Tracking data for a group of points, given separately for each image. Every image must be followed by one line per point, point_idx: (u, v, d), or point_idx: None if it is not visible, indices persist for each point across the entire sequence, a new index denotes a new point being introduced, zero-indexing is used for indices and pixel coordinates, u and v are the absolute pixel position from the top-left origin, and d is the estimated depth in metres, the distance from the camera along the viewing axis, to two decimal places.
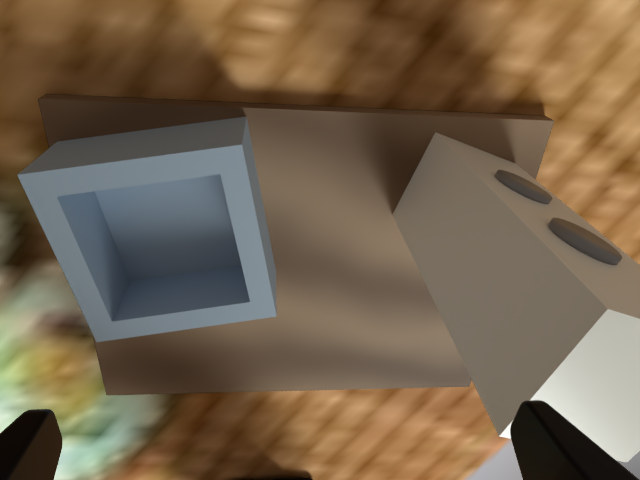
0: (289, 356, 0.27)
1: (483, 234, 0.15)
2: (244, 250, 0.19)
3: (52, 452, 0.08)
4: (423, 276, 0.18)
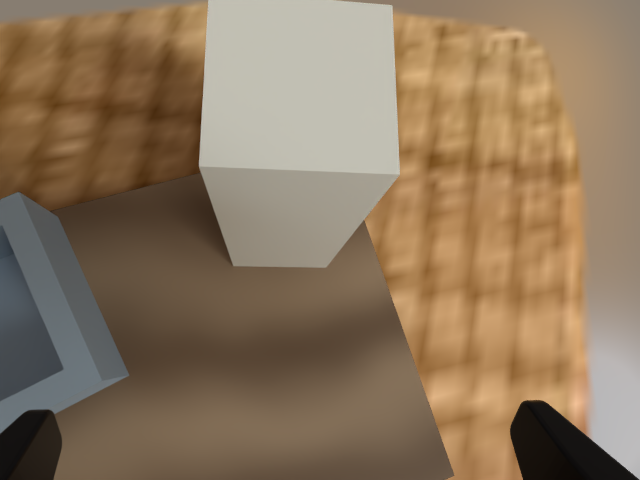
0: None
1: None
2: (43, 301, 0.17)
3: (52, 452, 0.08)
4: (225, 241, 0.17)
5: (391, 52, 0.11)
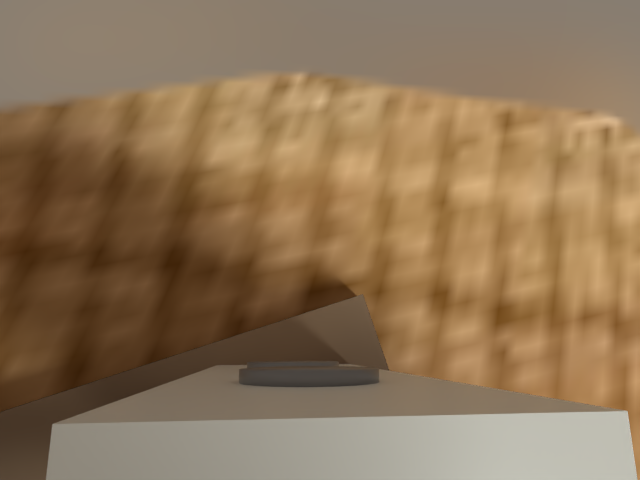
0: None
1: None
2: None
3: None
4: None
5: None
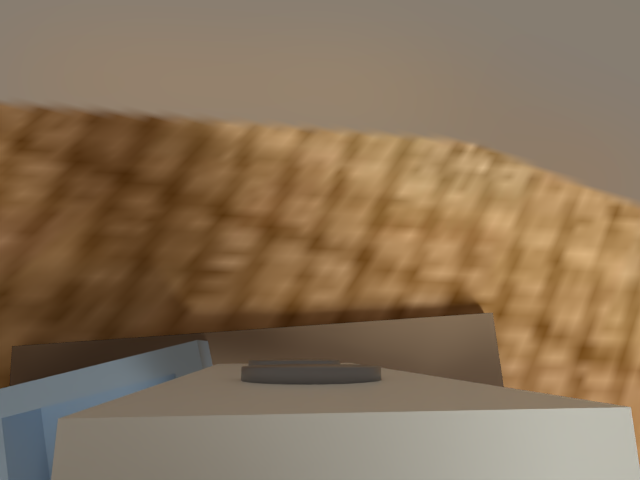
0: None
1: None
2: None
3: None
4: None
5: None
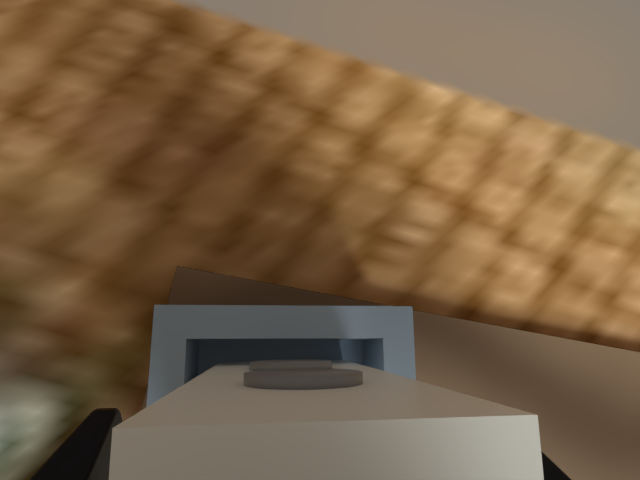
0: None
1: None
2: None
3: None
4: None
5: None
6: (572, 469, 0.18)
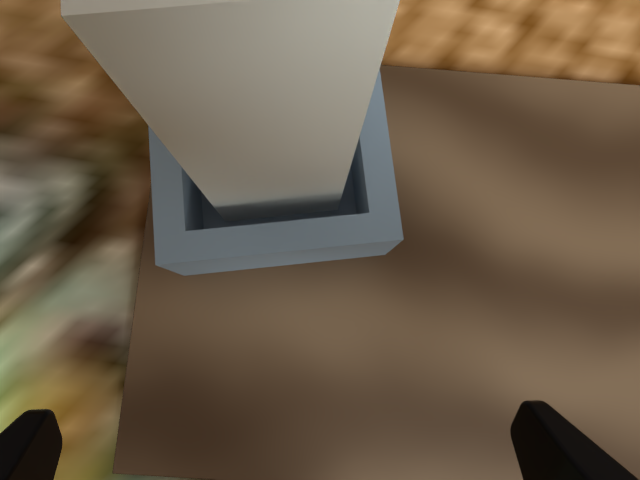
0: (401, 410, 0.18)
1: None
2: (367, 136, 0.16)
3: (52, 452, 0.08)
4: (194, 182, 0.13)
5: None
6: (548, 187, 0.20)
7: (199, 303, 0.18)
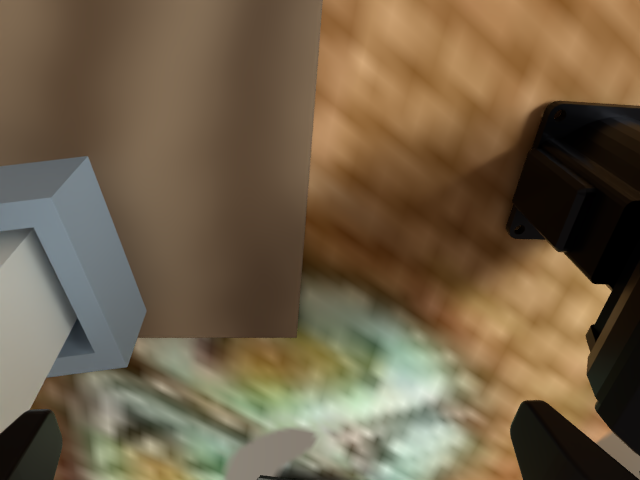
0: (240, 141, 0.19)
1: None
2: None
3: (52, 452, 0.08)
4: (41, 385, 0.17)
5: None
6: None
7: (167, 299, 0.22)
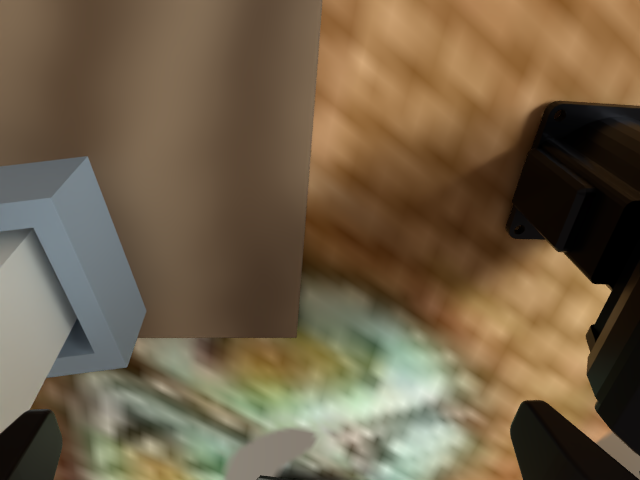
0: (240, 141, 0.19)
1: None
2: None
3: (52, 452, 0.08)
4: (41, 385, 0.17)
5: None
6: None
7: (167, 299, 0.22)
